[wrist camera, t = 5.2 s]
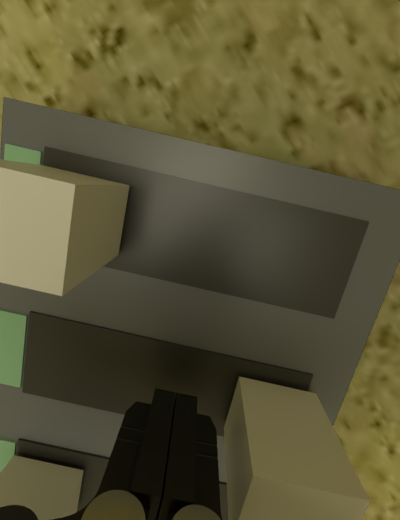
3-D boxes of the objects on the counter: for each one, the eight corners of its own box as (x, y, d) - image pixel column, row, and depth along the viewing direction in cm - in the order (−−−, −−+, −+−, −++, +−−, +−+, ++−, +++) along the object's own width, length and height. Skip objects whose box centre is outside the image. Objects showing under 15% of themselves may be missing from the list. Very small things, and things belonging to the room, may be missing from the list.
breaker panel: (376, 193, 13) (427, 195, 10) (262, 509, 17) (272, 578, 14) (52, 117, 12) (1, 95, 9) (20, 456, 17) (-22, 516, 14)
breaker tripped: (316, 393, 11) (370, 501, 7) (297, 443, 12) (338, 568, 8) (239, 376, 11) (253, 475, 7) (223, 427, 12) (229, 545, 8)
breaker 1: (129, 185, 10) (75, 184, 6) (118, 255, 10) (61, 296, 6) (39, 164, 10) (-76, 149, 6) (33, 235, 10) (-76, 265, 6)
